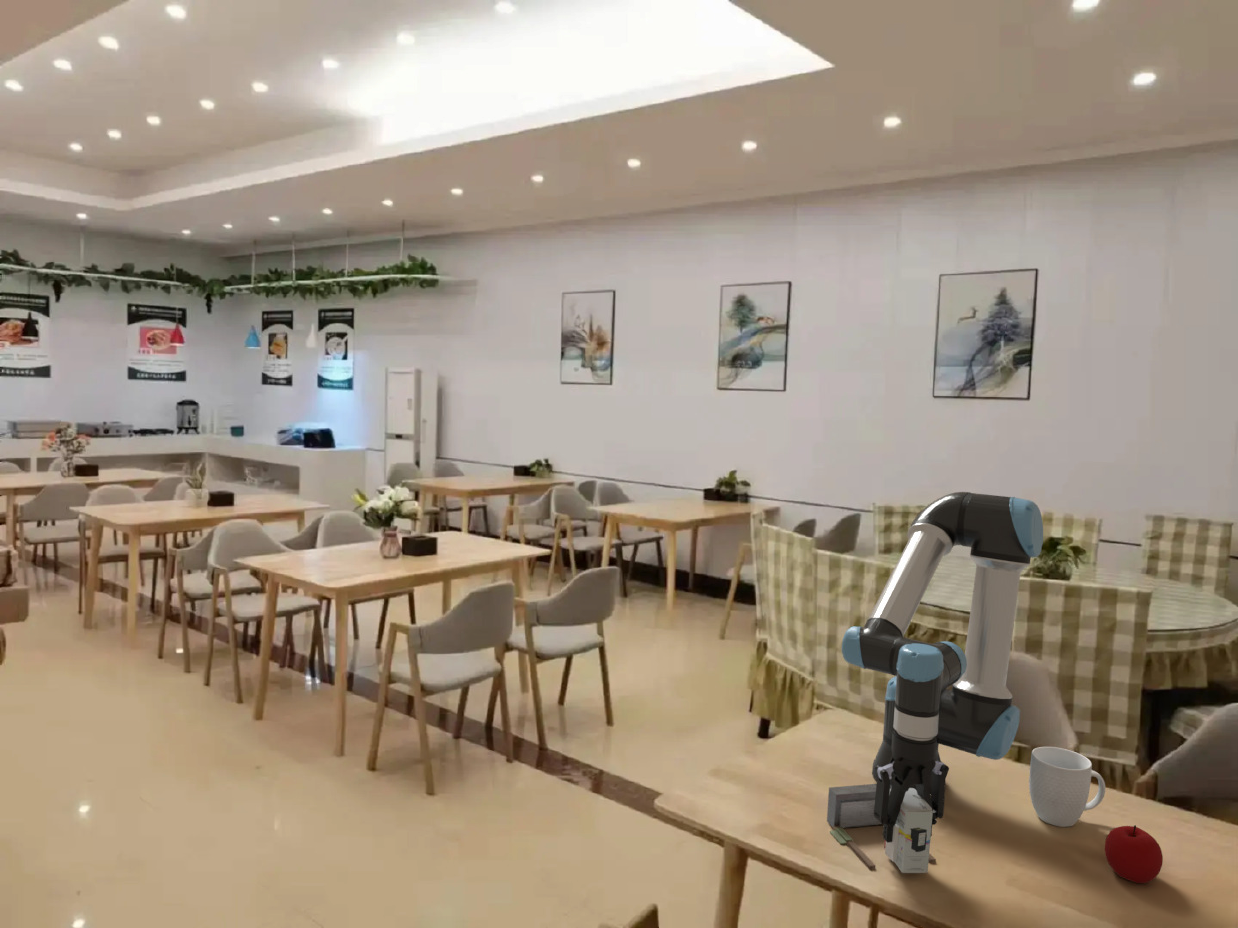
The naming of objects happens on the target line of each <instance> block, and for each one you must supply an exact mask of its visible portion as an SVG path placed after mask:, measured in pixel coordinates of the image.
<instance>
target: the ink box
mask: <svg viewBox="0 0 1238 928" xmlns="http://www.w3.org/2000/svg"><path fill="white" fill-rule="evenodd" d="M890 791H891V789H890ZM889 795H890V793H889ZM932 815H933V811H932V808H931V807H930V806H929V804H928V803H927V802H926V801H925V800H924V799H923V798H922V797H920V796H919V795H918V794H917V791H916V789H914V788H909V790H908V791H906V793H905V796H904V799H903V802H902V804H901V808H900V811H899V814H898V817H897V820H896V824H897V825H898V826H899V836H898V850H897V861H896V862H894V863H895V865H896V866H897V867H898V869H899V870H900V872H901V873H902V874H927V873H928V872H929V853H930V847H931V837H932V835H931V826H932V827H933V825H932ZM885 845H886V841H885V840H884V845H883V846H884V849H885Z"/></svg>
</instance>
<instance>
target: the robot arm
mask: <svg viewBox="0 0 1238 928" xmlns="http://www.w3.org/2000/svg"><path fill="white" fill-rule="evenodd" d="M1043 523H1044V521H1043V518H1042V513H1041V510H1040V508H1039V506H1038V505H1037V504H1036V503H1035V502H1034V501H1032V500H1029V499H1023V498H1020V497H1019V498H1018V497H1015V496H1004V495H994V494H983V493H977V492H976V493H973V492H971V491H970V492H969V491H957V492H953V493H949V494H946V495H943V496H941V497H940V498H939V497H938V498H937V499H936V500H934V501H933V502H931V503H929V504H928V505H927V506H926V507H925V508H924V509H922V511H920V512H919V513H918V514H917V516H916V517H915V518H914V519H913V521H912V523H911V524H910V526H909V528H908V531H907V533H906V534H907V535H906V537H907V543H906V545H905V547H904V548H903V551H902V553H901V555H900V556H899V558H898V560H897V562H896V564H895V566H894V568H893V570H892V571H891V574H890V575H889V578H888V579H887V581H886V583H885V586H884V588H883V589H882V591H881V593H880V595H879V597H878V599H877V601H876V603H875V605H874V607H873V609H872V611H871V613H870V614H869V617H868V619H867V620H866V622H865V623H864V626H863V627H862V626H855V625H854V626H850V627H849V628H847V629H846V631H845V632H844V635H843V638H842V642H841V654H842V658H843V660H844V661H845V662H846V663H848V664H851V665H854V666H856V667H859V668H861V669H864V670H866V669H867V670H871V671H876V672H878V673H884V674H887V675H892V676H893V677H891V679H890V680H888V682H887V685H886V693H885V696H884V700H885V703H884V717H883V719H884V720H883V729H882V730H883V733H882V734H883V735H882V741H881V743H880V747H879V748H878V751H877V754H876V756H875V758H874V759H873V762H872V770H871V771H872V772H871V773H872V774H871V775H872V777H873V778H874V780H875V781H876V784H877V785H876V795H875V805H874V817H875V818H876V819H877V820H878V821H879V822H880V823H881V824H883V825H882V839H883V840H884V842H885V841H886V845H885V848H884V855H886V856H887V857H888V859H890V861H892V862H893V863H895V862H896V861H897V850H898V836H899V826H898V825H897V824H896V820H897V817H898V814H899V811H900V808H901V804H902V802H903V799H904V796H905V793H906V791H908V790H909V788H914V789H916V791H917V794H918V795H919V796H920V797H922V798H923V799H924V800H925V801H926V802H927V803H928V804H929V806H930V807H931V808H932V811H933V815H932V826H931V836H932V834H933V833H932V832H933V826H935V825H936V824H937V823H938V820H937V819H943V817H944V815H945V797H946V796H945V794H946V779H947V776H948V773H949V770H950V767H949V765H947V764H946V763H944V762H942V761H941V755H940V753H939V745H942V746H946V747H949V748H952V749H956V750H958V751H962V752H966V753H968V754H972V755H975V756H976V757H983V758H985V759H989V760H993V761H994V760H995V761H996V760H1001V759H1003V758H1004V757H1005V756H1006V755H1007V753H1008V752H1009V750H1010V749H1011V747H1012V745H1013V742H1014V740H1015V738H1016V735H1017V731H1018V728H1019V724H1020V719H1021V718H1020V715H1021V711H1020V709H1019V707H1017V706H1016V705H1013V704H1012V703H1013V694H1012V693H1011V691H1009V689H1008V687H1007V680H1008V677H1007V676H1008V670H1009V662H1010V654H1011V650H1012V649H1011V648H1012V640H1013V632H1014V625H1015V618H1016V610H1017V605H1018V597H1019V596H1018V595H1019V588H1020V581H1021V580H1020V579H1021V574H1022V571H1024V570H1025V569H1026V568H1028V567H1029V566H1030V565H1031V558H1032V559H1033V558H1037V557H1039V556H1040V554H1041V553H1042V547H1043V543H1044V524H1043ZM955 546H962V547H965V548H966V547H967V548H970V553H969V557H970V558H971V559H972V561H973V562H974V563H975V565H976V566H975V567H976V568H975V574H974V575H975V576H974V582H973V588H972V589H973V590H972V597H971V603H970V604H971V605H970V613H969V621H968V628H967V635H966V642H965V651H963V649H962V648H961V647H960V646H959V645H958V644H955V643H954V642H951V641H947V640H943V641H939V642H938V641H936V642H935V643H929V642H926V641H920V640H916V639H913V638H908V637H904V636H905V634H906V632H907V630H908V628H909V625H910V623H911V622H912V620H913V618H914V615H915V614H916V611H917V610H918V607H919V605H920V603H921V601H922V600H923V598H924V595H925V593H926V591H927V590H928V587H929V585H930V583H931V581H932V579H933V577H934V575H935V573H936V571H937V569H938V566H939V565H940V562H941V560H942V559H943V557H945V556H947V555H948V554H950V553H951V551H952V550H953V548H954V547H955ZM950 686H952V689H948V688H949V687H950ZM890 785H891V786H892V788H891V791H890ZM889 793H890V795H889Z"/></svg>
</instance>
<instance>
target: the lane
mask: <svg viewBox="0 0 1238 928" xmlns="http://www.w3.org/2000/svg"><path fill="white" fill-rule="evenodd" d="M829 833H830V835H832V837H833V838H835V840H836V841H837V842H838V844H840V845H847V847H848V848H849V849H851V851H852V852H853V853H854V854H855V855H856V856H857V857H858V858H859V860H860V861H861V862H862V863H863V864H864V865H865V866H866V867H867V868H868V870H873V869H876V867H877V866H876V864H875V863H874V862H873V861H872V860H871V859H870V857H869V856H867V854H866V853H865V852H864V851H863V850H862V848H860V847H859V846H858V844H857V843H856V842H854V840H853V838H852V837H851V836H850V835H849V833H847V832H846V830H845V829H844V828H842V827H840V826H833V827H832V830H829ZM936 860H937V859H936V858H935V857H934V856H933V855H932V854H931V853H930V852H929V862H928V864H932V863H933V864H934V863H936V862H937V861H936Z"/></svg>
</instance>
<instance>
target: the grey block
mask: <svg viewBox="0 0 1238 928" xmlns="http://www.w3.org/2000/svg"><path fill="white" fill-rule="evenodd" d="M876 785H877V783H869V784H867V783H866V784H857V785H856V784H855V785H845V786H832V787H828V798H827V799H828V800H827V814H826V822H827V823H828V825H830V826H831V828H833V826H840V827H842V828H843V829H846V828H847V829H848V828H859V827H870V826H881V825H882V826H883V824H881V823H880V822H879V821H878V820H877V819H876V818H875V817H874V805H875V795H876ZM891 788H892V786H891V785H890V789H891Z"/></svg>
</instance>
